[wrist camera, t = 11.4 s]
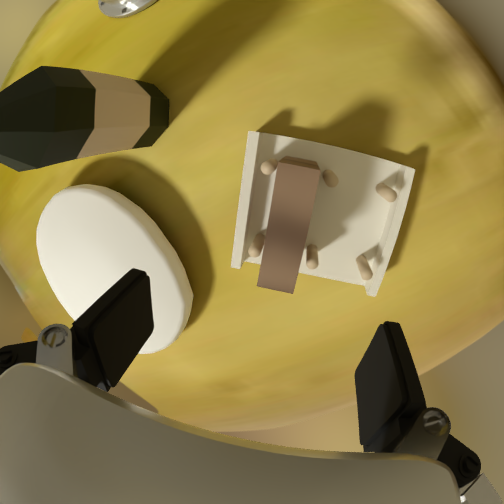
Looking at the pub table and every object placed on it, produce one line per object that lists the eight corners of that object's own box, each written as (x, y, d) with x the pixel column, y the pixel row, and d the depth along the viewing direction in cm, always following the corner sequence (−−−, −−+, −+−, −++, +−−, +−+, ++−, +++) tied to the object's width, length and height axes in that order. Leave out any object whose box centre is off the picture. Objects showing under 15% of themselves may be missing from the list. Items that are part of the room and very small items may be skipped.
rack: (255, 131, 26) (245, 130, 22) (403, 165, 24) (421, 171, 20) (238, 253, 32) (227, 273, 28) (369, 280, 30) (378, 304, 26)
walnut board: (285, 155, 25) (277, 162, 18) (316, 161, 25) (320, 170, 18) (269, 248, 30) (257, 286, 22) (297, 254, 29) (292, 293, 22)
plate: (227, 314, 30) (129, 377, 41) (236, 281, 36) (142, 352, 47) (54, 147, 23) (16, 272, 34) (87, 138, 29) (37, 254, 39)
